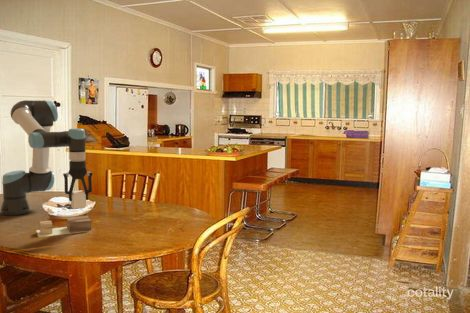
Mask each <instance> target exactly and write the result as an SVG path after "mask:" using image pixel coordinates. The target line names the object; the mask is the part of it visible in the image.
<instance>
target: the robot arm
mask: <svg viewBox="0 0 470 313" xmlns="http://www.w3.org/2000/svg"><path fill="white" fill-rule="evenodd" d="M58 117H59V114H58V108H57V105H56V104H55V103H54V101H51V100H28V99H26V100H20V101H18V102H16V103H14V105H13V106H12V107H11V109H10V118H11V119H12V121H13V122H14V123H15V124H16V125H19V126H20V128H22V130H23V131H24V133H26V134H27V136H28V138H27V139H28V142H27V143H28V144H29V145H28V146H29V147H30V148H32V157H31V160H32V162H31V163H32V165H31V167H29V170H28V172H26V171H25V170H12V171H9V172H6V173H4V174H3V175H2V181H1V184H2V198H3V200H2V203H1V206H0V215H2V216H20V215H25V214H28V213H30V212H31V207H30V204H29V202H28V199H27V194H29V193H36V192H37V193H39V192H45V191H50V190H51V189H52V188H53V187H54V185H55V174H54V171H52V168H50V167H49V159H50V158H49V157H50V148H65V147H66V148H67V147H68V153H69V154H68V160H70V161H69V170H68V172H65V173H63V174H62V176H63V177H64V193H65V195H68V201H69V202H71V203H70V204H71V208H72V209H74V196H73V194H72V192H73V191H74V187H75V183H76V181H77V180H80V182H81V184H82V188H83V191H84V192H85V208H86V207H87V201H88V200H89V194H90V193H92V192H93V189H92V188H93V186H92V183H93V182H92V177H93V172H92V171H87V170H88V169H87V161H86V159H87V158H86V157H87V156H86V154H87V153H86V137H87V136H86V131H85V129H84V128H78V127H77V128H76V127H75V128H70V129H68V130H64V131H51V128H52V127H53V126H54V123H55V122H57V121H58V119H59V118H58ZM86 175H87V183H88V184H87V183H86V180H85V176H86ZM69 176H70V177H71V182H70V186H69V184H68V183H69ZM86 184H87V185H88V188H87V185H86Z"/></svg>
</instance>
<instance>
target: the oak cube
mask: <svg viewBox="0 0 470 313" xmlns="http://www.w3.org/2000/svg"><path fill="white" fill-rule="evenodd" d="M52 228H53V221H52V220H44V221H39V230H40V233H41V235H43V234H52V233H53V232H52Z"/></svg>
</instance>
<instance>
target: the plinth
mask: <svg viewBox="0 0 470 313" xmlns="http://www.w3.org/2000/svg"><path fill="white" fill-rule="evenodd" d="M66 227H67V228H68V230H69V232H70V233H71V234H75V233H74V232H80V233H83V232H82V231H88V232H92V220H91V218H90V217H89V215H79V216H70V217H66Z"/></svg>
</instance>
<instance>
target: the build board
mask: <svg viewBox="0 0 470 313" xmlns="http://www.w3.org/2000/svg"><path fill="white" fill-rule="evenodd" d="M52 232H53V233H52V234H43V235H41V233H40V229H36V235H37V238H45V237H53V236H61V235H70V234H72V233H70V232H69V230H68V228H67V226H64V227H62V226H61V227H55V228H53V227H52ZM87 232H88V233H89V231H82V232H74V233H73V234H78V233H87Z"/></svg>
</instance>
